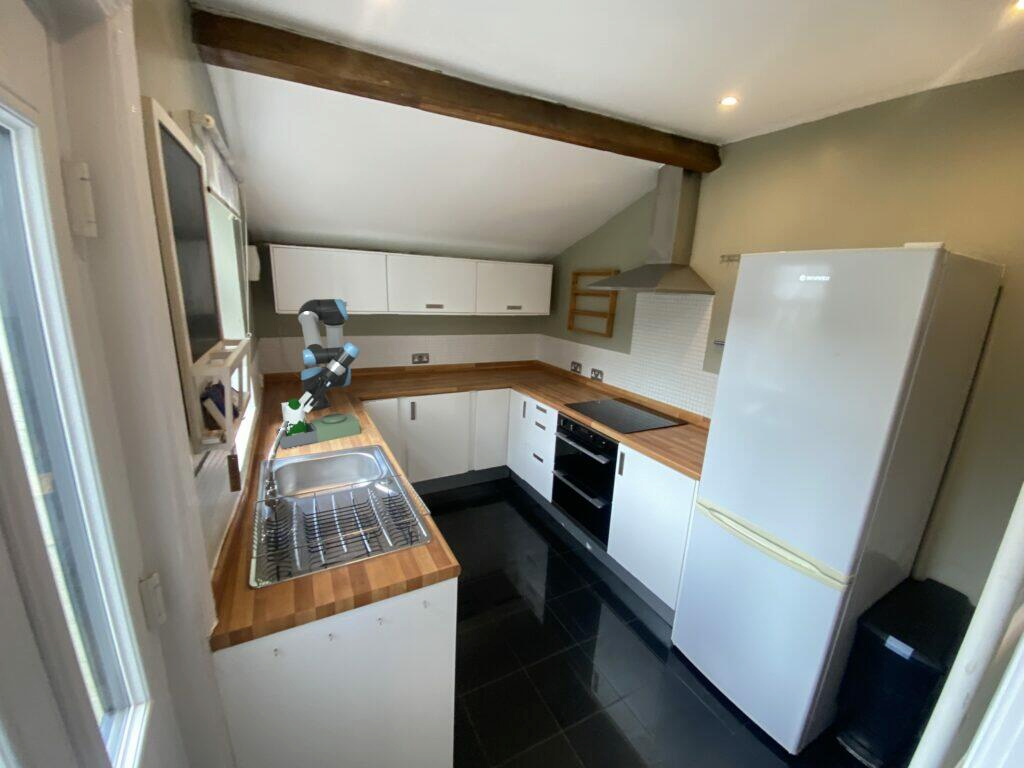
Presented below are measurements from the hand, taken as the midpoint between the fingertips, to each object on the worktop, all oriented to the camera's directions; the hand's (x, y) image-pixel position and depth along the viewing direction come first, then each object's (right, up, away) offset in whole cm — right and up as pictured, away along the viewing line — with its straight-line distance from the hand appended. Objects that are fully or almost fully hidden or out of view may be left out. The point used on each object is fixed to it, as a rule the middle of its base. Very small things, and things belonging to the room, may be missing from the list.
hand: (302, 407), depth 185 cm
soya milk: (-3, -15, +2) cm, 16 cm away
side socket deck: (+4, -15, +8) cm, 17 cm away
